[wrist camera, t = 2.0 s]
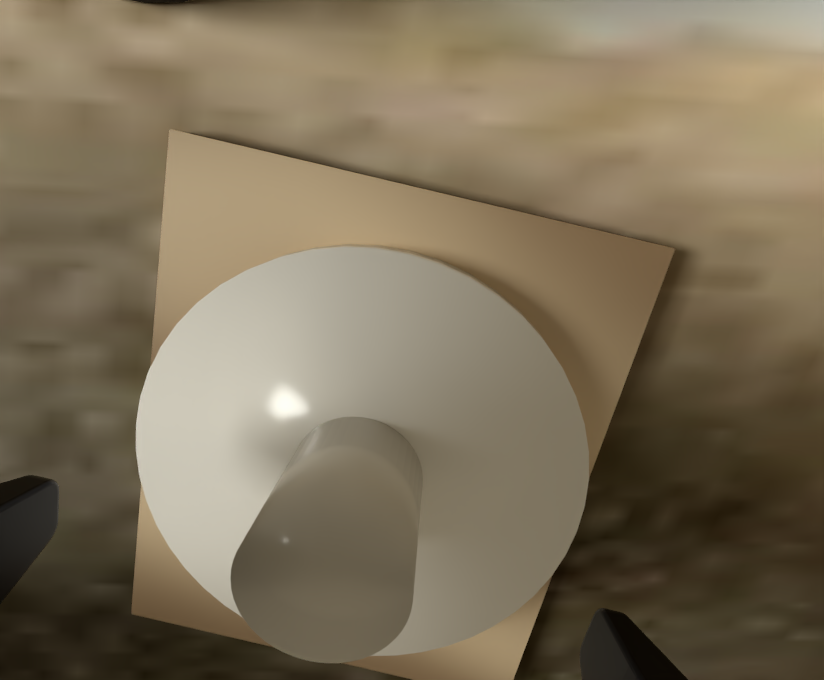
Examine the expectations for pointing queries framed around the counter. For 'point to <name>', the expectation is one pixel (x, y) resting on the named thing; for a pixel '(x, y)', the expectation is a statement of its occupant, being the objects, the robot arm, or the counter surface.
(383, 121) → the counter surface
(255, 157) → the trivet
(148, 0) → the mug
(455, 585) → the lid
